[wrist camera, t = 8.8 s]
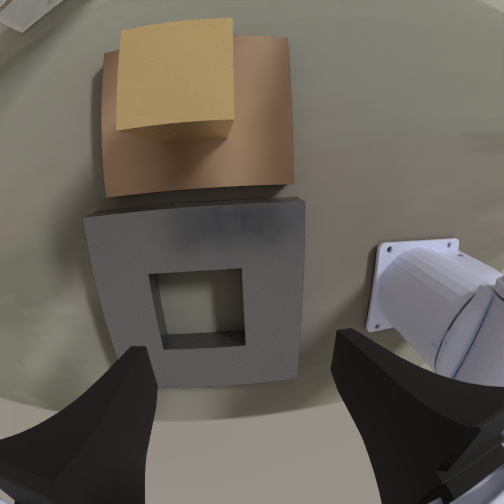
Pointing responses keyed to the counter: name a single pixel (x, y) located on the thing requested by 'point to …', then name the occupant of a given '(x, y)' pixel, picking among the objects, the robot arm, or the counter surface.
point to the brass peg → (176, 81)
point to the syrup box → (24, 12)
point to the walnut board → (210, 150)
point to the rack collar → (200, 259)
